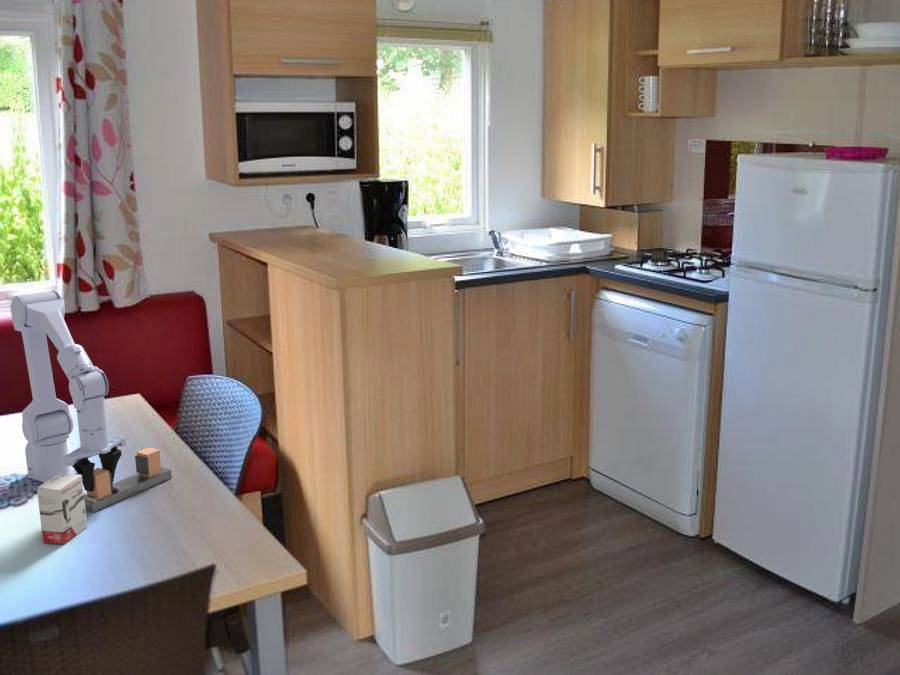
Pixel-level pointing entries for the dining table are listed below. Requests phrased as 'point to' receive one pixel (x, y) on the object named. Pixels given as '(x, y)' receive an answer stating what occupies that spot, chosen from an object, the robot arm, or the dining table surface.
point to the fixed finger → (148, 462)
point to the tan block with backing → (101, 483)
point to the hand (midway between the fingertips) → (99, 486)
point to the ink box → (62, 508)
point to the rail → (126, 489)
